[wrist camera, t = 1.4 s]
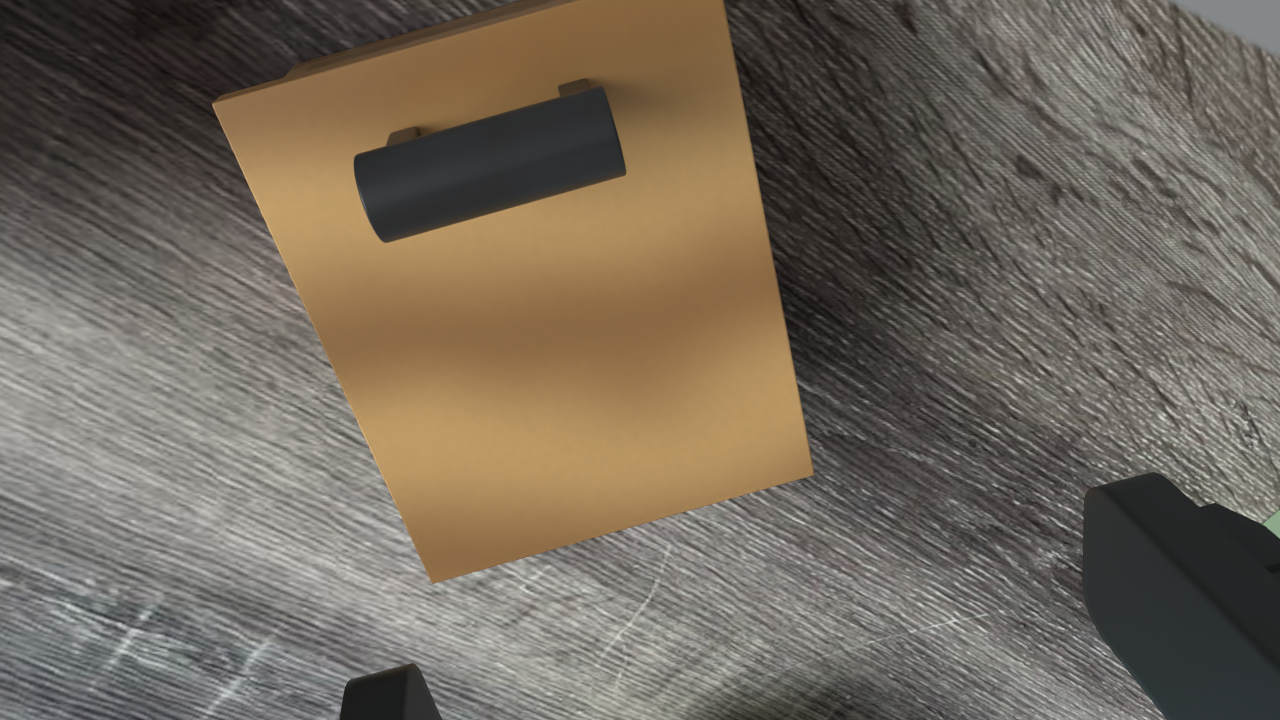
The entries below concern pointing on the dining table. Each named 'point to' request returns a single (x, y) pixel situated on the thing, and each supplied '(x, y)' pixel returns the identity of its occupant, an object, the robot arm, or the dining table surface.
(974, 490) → the dining table surface
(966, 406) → the dining table surface
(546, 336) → the lid
